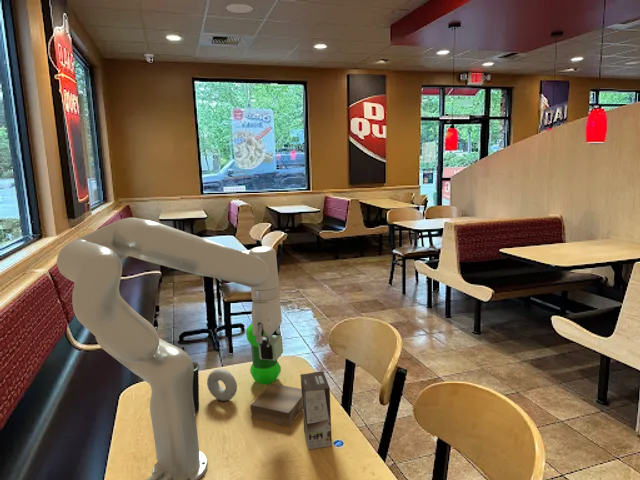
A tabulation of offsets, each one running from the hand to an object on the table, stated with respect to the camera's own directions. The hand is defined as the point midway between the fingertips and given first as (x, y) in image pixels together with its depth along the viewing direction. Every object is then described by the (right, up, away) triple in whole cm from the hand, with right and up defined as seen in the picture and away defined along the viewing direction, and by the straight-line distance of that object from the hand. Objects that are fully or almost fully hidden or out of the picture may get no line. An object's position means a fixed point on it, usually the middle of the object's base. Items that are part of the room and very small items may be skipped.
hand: (271, 353), depth 124 cm
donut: (-16, -17, +11) cm, 26 cm away
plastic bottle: (-4, -14, +21) cm, 26 cm away
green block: (0, -1, 0) cm, 1 cm away
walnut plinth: (+2, -17, +4) cm, 18 cm away
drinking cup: (-24, -19, +6) cm, 31 cm away
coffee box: (+13, -20, -8) cm, 25 cm away
